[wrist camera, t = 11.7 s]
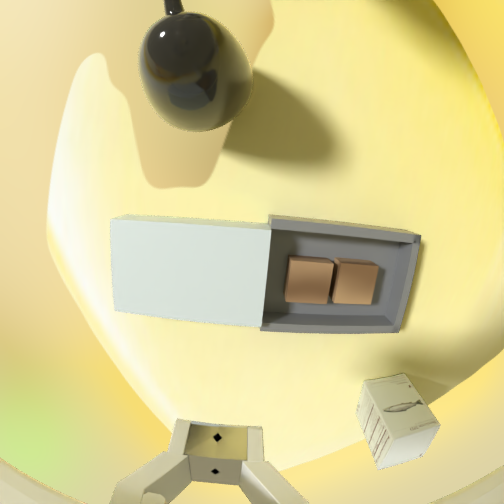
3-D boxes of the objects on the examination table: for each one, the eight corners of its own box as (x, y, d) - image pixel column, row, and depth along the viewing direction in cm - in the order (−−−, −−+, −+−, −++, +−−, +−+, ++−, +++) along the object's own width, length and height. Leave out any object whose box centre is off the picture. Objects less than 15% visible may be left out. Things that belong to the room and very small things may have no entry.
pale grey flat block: (127, 214, 31) (110, 219, 26) (268, 223, 31) (271, 230, 27) (129, 295, 33) (114, 310, 28) (259, 309, 33) (261, 327, 29)
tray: (269, 214, 31) (271, 218, 27) (406, 230, 31) (421, 235, 28) (258, 316, 34) (259, 330, 30) (387, 320, 34) (398, 332, 31)
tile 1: (288, 254, 31) (291, 260, 29) (327, 257, 31) (333, 263, 29) (283, 293, 32) (285, 301, 30) (321, 295, 32) (326, 303, 30)
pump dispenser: (242, 46, 26) (238, -37, 12) (261, 126, 29) (272, 76, 14) (155, 67, 27) (99, 3, 12) (169, 148, 29) (104, 121, 14)
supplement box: (405, 371, 36) (443, 424, 24) (393, 405, 38) (423, 458, 26) (362, 378, 36) (394, 439, 24) (353, 413, 38) (377, 472, 26)
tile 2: (378, 266, 29) (370, 260, 32) (341, 263, 29) (334, 257, 31) (370, 304, 30) (362, 296, 33) (333, 303, 30) (328, 294, 32)
